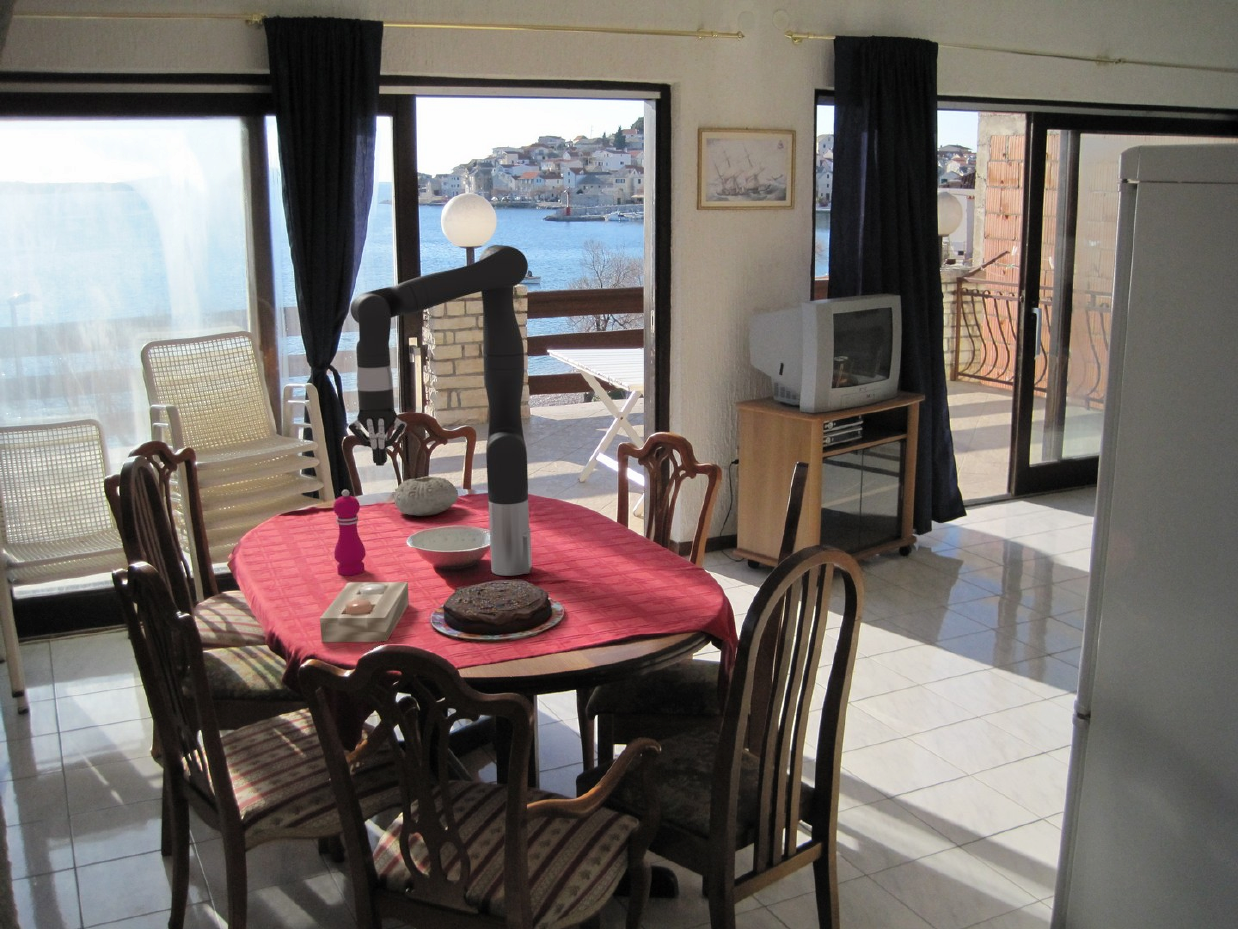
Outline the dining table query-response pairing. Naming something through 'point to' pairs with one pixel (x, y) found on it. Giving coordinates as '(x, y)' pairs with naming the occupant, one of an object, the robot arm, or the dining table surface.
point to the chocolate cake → (497, 612)
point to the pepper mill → (348, 536)
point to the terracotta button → (358, 607)
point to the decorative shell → (425, 496)
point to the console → (365, 625)
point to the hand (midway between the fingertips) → (380, 464)
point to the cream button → (372, 589)
